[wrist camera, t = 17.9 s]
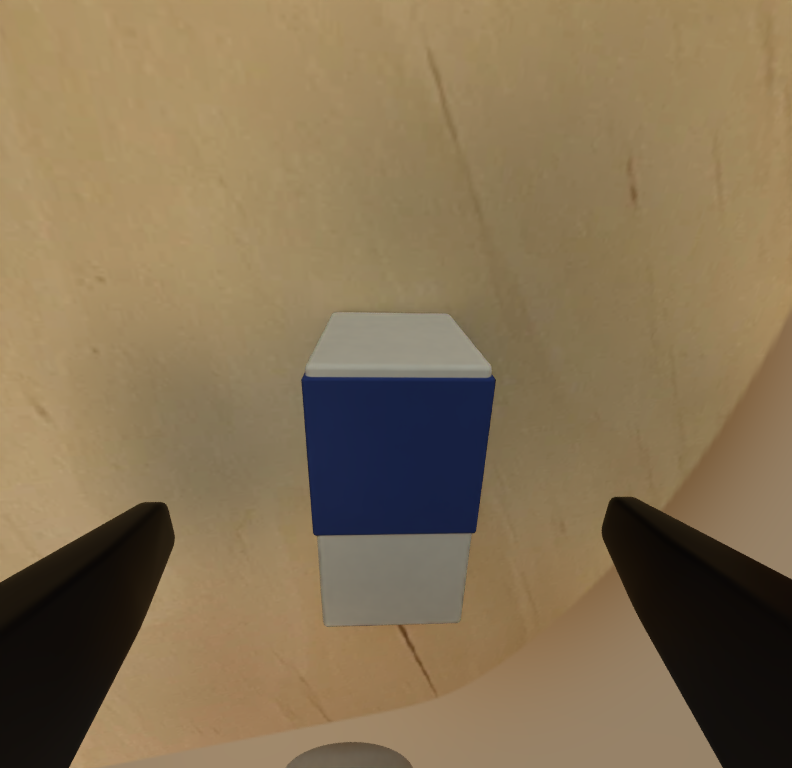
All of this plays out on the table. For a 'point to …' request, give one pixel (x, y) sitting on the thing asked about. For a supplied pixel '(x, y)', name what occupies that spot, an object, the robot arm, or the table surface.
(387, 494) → the eraser
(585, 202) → the table surface
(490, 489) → the table surface
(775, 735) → the robot arm
